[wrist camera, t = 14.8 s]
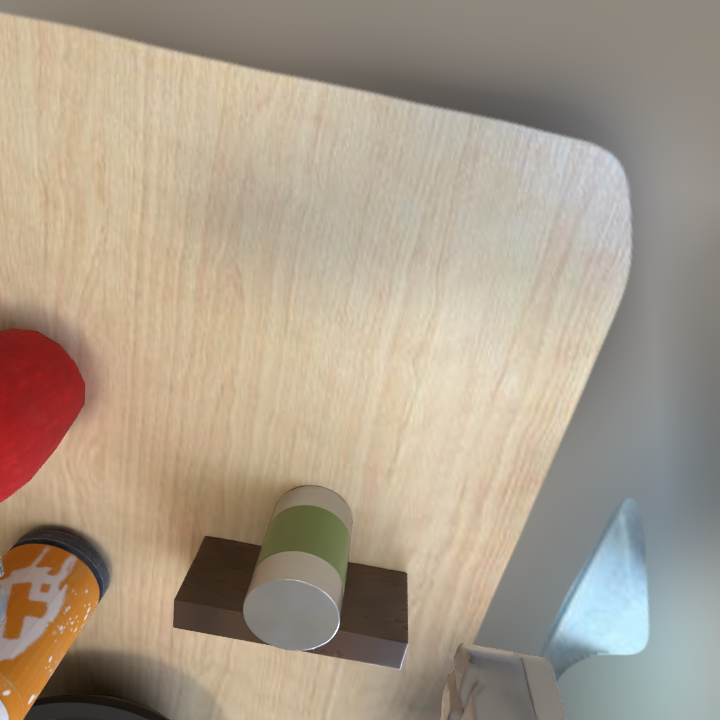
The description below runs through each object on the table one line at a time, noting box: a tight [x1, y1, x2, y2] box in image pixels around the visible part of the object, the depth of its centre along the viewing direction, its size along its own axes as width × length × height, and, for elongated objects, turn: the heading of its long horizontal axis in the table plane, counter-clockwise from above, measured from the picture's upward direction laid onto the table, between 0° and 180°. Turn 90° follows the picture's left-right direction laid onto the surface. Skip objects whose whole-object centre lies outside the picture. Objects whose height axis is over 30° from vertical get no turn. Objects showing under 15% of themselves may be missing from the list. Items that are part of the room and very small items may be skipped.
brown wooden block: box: [173, 536, 408, 669], centre depth 44 cm, size 18×6×7 cm, turn 80°
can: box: [243, 486, 353, 651], centre depth 40 cm, size 7×7×10 cm
